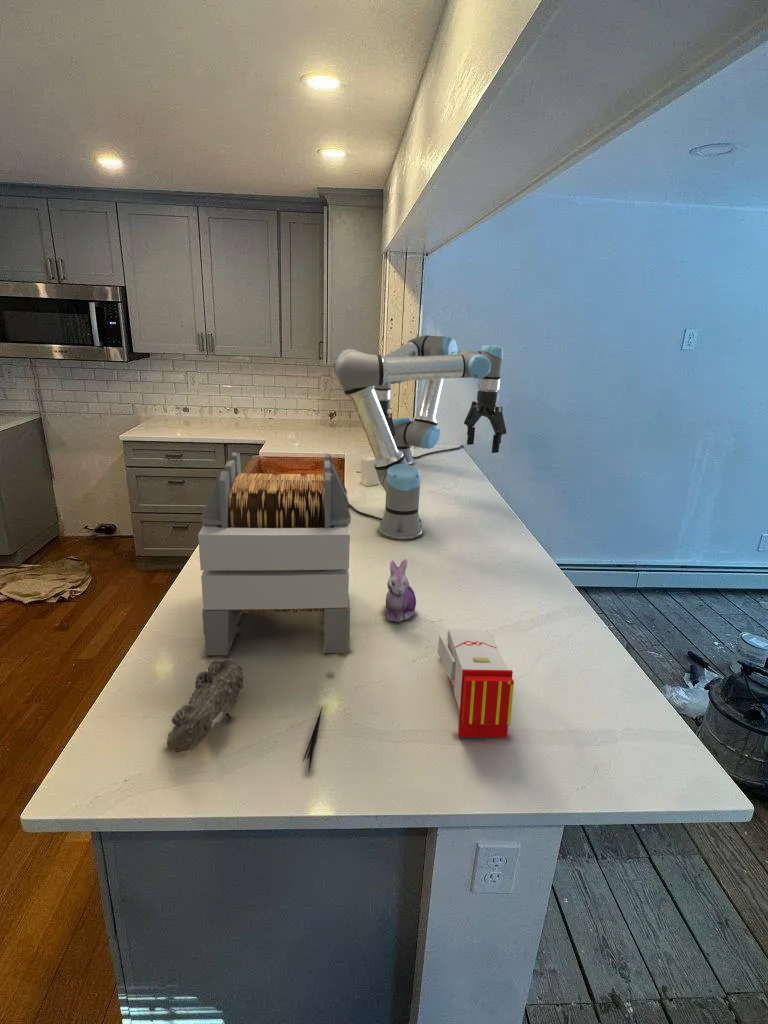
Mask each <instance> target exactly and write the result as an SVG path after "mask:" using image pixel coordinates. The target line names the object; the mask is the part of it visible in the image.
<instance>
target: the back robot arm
mask: <svg viewBox="0 0 768 1024" xmlns="http://www.w3.org/2000/svg"><path fill="white" fill-rule="evenodd" d="M454 350H458V345H457V341H456V340H455V339H454V338H453V337H451V336H445V335H444V336H442V335H427V334H425V335H419V336H417V337H416V336H415V337H413V338H411V339H408V341H405V342H404V343H402V345H401V346H400V347H399V348H396V349H394V350H393V351H391V352H389V353H387V354H384V355H383V356H384V357H385V358H391V357H414V356H437V355H448V353H449V352H450V351H454ZM404 382H405V381H394V382H385V384H384V385H380V386H375V387H374V390H375V392H376V395H377V397H378V400H379V403H380V405H381V408H382V410H383V413H384V416H385V418H386V421H387V424H388V426H389V429H390V431H391V434H392V437H393V439H394V442H395V445H396V447H397V450H399V451H402V452H403V454H404V456H405V459H406V462H407V464H408V465H411V466H412V465H413V464H414V459H419V458H420V459H421V458H422V457H425V456H428V455H433V454H437V453H443V452H444V453H445V452H450V451H455V450H459V449H461V448H464V447H465V446H464V445H463V444H460V445H459V446H458V447H452V448H447V449H441V450H435V451H430V452H426V453H422V454H420V455H417V456H413V454H412V449H411V447H414V448H415V447H416V448H421V449H428V450H431V449H433V448H434V447H435V446H436V445H437V444H438V442H439V440H440V437H441V429H440V426H438V424H439V423H438V421H437V419H436V418H437V413H438V408H439V404H440V400H441V394H442V391H443V386H444V382H445V379H430V380H424V385H423V386H424V387H423V391H422V396H421V401H420V405H419V411H418V415H417V416H415V417H414V419H413V418H412V417H395V418H393V413H392V412H388V410H390V409H391V392H392V391H391V387H392V385H396V384H401V383H404ZM368 445H370V443H369V442H368Z"/></svg>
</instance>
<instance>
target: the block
mask: <svg viewBox="0 0 768 1024" xmlns="http://www.w3.org/2000/svg"><path fill="white" fill-rule="evenodd" d="M374 461H375V456H366V457H361V463H360V464H361V466H360V468H361V469H360V484H361V485H362V486H366V487H373V486H377V485H379V480H378V475H377V472H376V470H375V467H374V464H373V463H374Z"/></svg>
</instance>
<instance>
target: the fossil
mask: <svg viewBox="0 0 768 1024" xmlns="http://www.w3.org/2000/svg"><path fill="white" fill-rule="evenodd" d="M243 670H244V669H243V667H242V665H240V664H237V662H236V661H235V660H234V659H232V658H231V659H227V658H226V659H224V660H223V661H222V660H217V659H212V660H211V661H210V663H209V665H208V666H207V671H201V672H199V673H198V674H197V675H196V676H195V680H194V684H195V685H194V687H195V689H194V690H193V693H192V694H191V697H190V698H189V700H188V704H184V705H182V706H181V707H180V709H177V710H176V711H175V713H174V715H173V716H172V718H171V723H172V724H173V727H172V730H171V731H170V732H168V734H167V738H166V741H167V742H166V745H167V749H168V750H169V751H173V752H174V753H176V754H178V753H182V752H188V751H189V752H192V751H193V750H195V748H196V747H197V746H199V744H200V743H201V742H203V741H204V740H205V739H206V738H207V737H208V736H209V735H210V734H211V733H212V732H214V730H215V729H217V727H218V726H219V724H220V722H221V721H222V720H223V719H224V718H225V716H226V717H227V719H229V720H233V717H232V715H230V714H229V710H230V709H231V708H234V706H235V704H236V703H237V702H238V699H239V697H240V695H241V693H242V691H243V690H245V689H244V688H245V675H244V671H243Z"/></svg>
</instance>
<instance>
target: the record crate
mask: <svg viewBox="0 0 768 1024" xmlns="http://www.w3.org/2000/svg"><path fill="white" fill-rule="evenodd" d="M241 463H242V462H241V453H240V452H235V451H233V452H231V455H230V457H229V459H227V460H226V463H225V466H224V468H223V470H222V471H220V474H219V475H218V477H217V479H216V482H215V483H214V486H213V489H212V491H211V494H210V495H209V498H208V499H207V502H206V505H205V507H204V509H203V511H202V514H201V517H200V520H201V524H202V527H201V529H200V530H199V532H198V535H197V538H198V550H199V552H198V553H199V563H200V565H199V567H200V571H202V573H201V575H200V580H201V581H200V582H201V594H202V605H203V607H202V609H201V610H202V611H201V617H202V629H203V638H204V639H203V640H204V649H205V650H204V651H205V652H204V655H205V656H206V657H212V656H228V654H229V652H230V650H231V647H232V645H233V643H234V640H235V638H236V635H237V632H238V623H240V620H241V617H242V614H244V613H250V614H251V613H253V614H254V613H257V614H258V613H298V612H301V613H302V612H308V613H309V612H322V614H323V654H344V655H346V654H347V653H349V652H350V639H351V604H350V595H349V594H350V593H349V586H350V585H349V584H350V572H349V571H350V570H349V569H350V549H351V548H350V547H351V545H350V542H351V533H350V532H351V531H350V526H349V525H350V524H351V520H352V516H351V515H352V514H351V507H349V504H350V502H349V496H348V490H347V488H346V486H345V484H344V482H343V480H342V478H341V474H340V473H339V471H338V469H337V466H336V465H335V462H334V460H333V458H332V455H331V454H330V453H326V452H324V453H323V473H322V474H321V473H318V474H316V475H315V474H314V473H306V474H303V475H302V474H301V473H288V474H287V473H280V474H273V473H244V472H243V473H242V466H241Z"/></svg>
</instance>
